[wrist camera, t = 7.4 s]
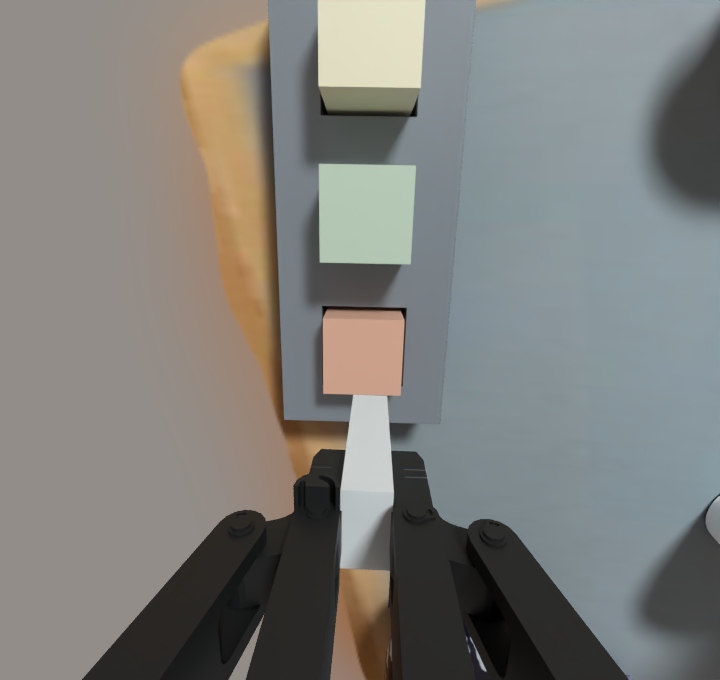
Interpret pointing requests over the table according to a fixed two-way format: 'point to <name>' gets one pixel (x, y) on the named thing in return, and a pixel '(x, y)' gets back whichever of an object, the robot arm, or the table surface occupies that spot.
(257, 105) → the table surface
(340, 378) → the button terracotta
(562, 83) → the table surface
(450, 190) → the panel
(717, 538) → the cup
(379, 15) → the button cream
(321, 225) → the button sage
